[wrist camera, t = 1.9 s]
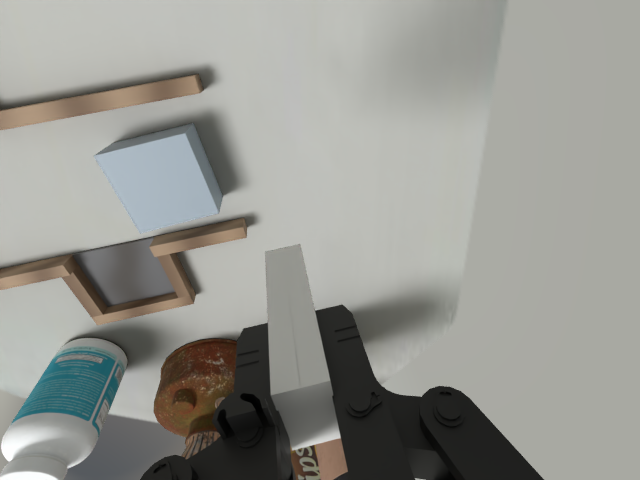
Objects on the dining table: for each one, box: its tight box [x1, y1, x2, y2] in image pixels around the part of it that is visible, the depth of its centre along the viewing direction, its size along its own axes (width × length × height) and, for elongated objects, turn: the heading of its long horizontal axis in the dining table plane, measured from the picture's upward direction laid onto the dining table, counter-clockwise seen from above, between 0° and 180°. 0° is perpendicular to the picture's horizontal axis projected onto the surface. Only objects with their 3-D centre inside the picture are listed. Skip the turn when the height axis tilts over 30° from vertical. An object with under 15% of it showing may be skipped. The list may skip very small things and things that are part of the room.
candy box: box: [290, 445, 321, 480], centre depth 44 cm, size 9×4×15 cm, turn 90°
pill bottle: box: [0, 338, 127, 480], centre depth 33 cm, size 8×7×14 cm
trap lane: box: [0, 74, 247, 325], centre depth 27 cm, size 33×28×5 cm
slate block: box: [94, 123, 223, 233], centre depth 28 cm, size 7×7×4 cm
